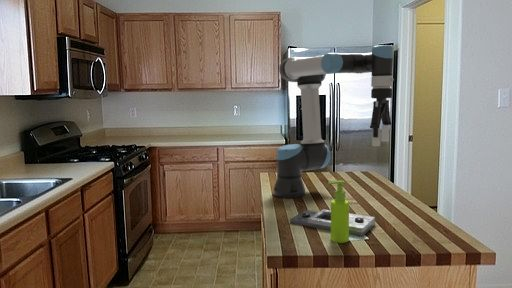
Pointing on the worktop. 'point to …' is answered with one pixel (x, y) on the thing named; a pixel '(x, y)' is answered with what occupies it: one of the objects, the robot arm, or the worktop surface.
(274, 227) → the worktop surface
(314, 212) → the lower link
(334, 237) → the soap dispenser
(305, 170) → the robot arm
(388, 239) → the worktop surface
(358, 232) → the upper link
